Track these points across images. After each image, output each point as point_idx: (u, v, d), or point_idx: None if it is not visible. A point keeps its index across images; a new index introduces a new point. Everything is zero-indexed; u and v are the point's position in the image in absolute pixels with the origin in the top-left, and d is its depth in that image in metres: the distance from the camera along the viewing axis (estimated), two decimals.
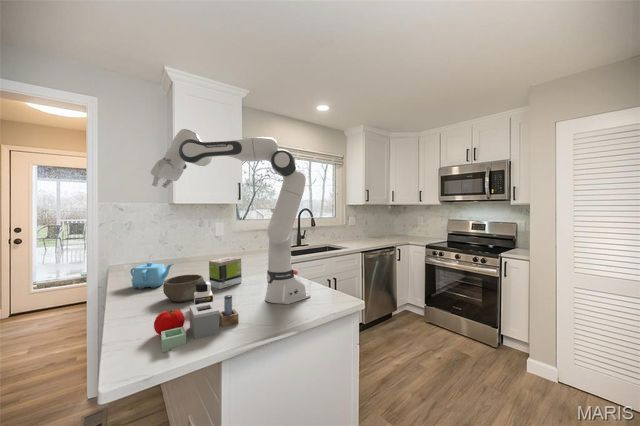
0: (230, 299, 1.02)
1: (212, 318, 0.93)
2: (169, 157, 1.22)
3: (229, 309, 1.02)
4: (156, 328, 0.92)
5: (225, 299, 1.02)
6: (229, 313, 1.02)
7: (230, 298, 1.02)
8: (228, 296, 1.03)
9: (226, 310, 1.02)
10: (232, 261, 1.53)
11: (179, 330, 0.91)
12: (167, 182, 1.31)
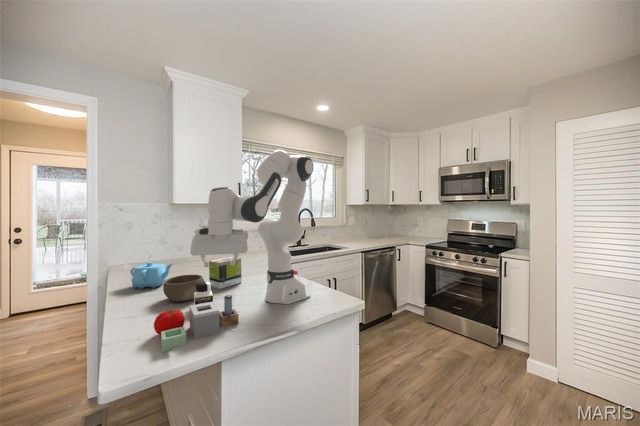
0: (230, 299, 1.02)
1: (212, 318, 0.93)
2: (232, 227, 1.03)
3: (229, 309, 1.02)
4: (156, 328, 0.92)
5: (225, 299, 1.02)
6: (229, 313, 1.02)
7: (230, 298, 1.02)
8: (228, 296, 1.03)
9: (226, 310, 1.02)
10: None
11: (179, 330, 0.91)
12: (204, 259, 1.00)
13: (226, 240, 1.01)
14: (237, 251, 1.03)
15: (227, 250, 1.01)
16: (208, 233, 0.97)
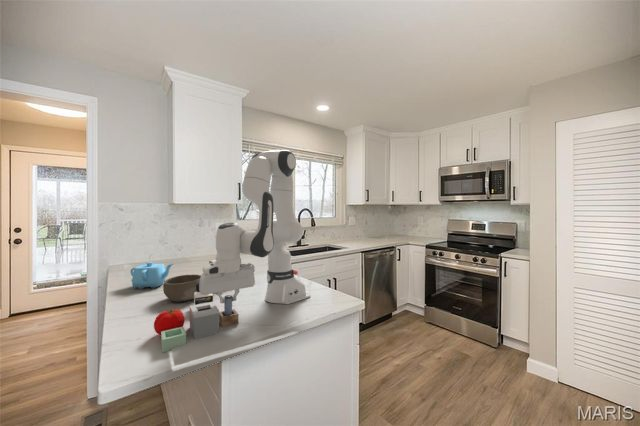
0: (230, 299, 1.02)
1: (212, 318, 0.93)
2: None
3: (229, 309, 1.02)
4: (156, 328, 0.92)
5: (225, 299, 1.02)
6: (229, 313, 1.02)
7: (230, 298, 1.02)
8: (228, 296, 1.03)
9: (226, 310, 1.02)
10: None
11: (179, 330, 0.91)
12: None
13: (234, 276, 1.02)
14: (245, 286, 1.05)
15: (236, 285, 1.03)
16: (218, 272, 0.97)
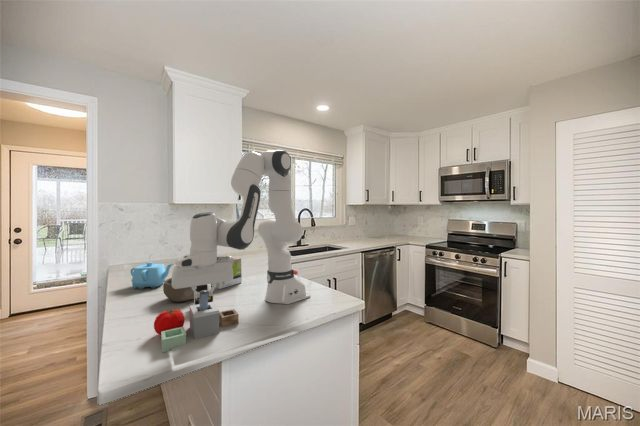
0: (206, 294, 0.95)
1: (212, 318, 0.93)
2: None
3: (204, 304, 0.95)
4: (156, 328, 0.92)
5: (200, 294, 0.95)
6: (204, 309, 0.95)
7: (206, 293, 0.95)
8: (204, 291, 0.96)
9: (201, 306, 0.95)
10: None
11: (179, 330, 0.91)
12: (195, 290, 0.94)
13: (210, 269, 0.95)
14: (222, 280, 0.98)
15: (212, 279, 0.96)
16: (191, 264, 0.90)
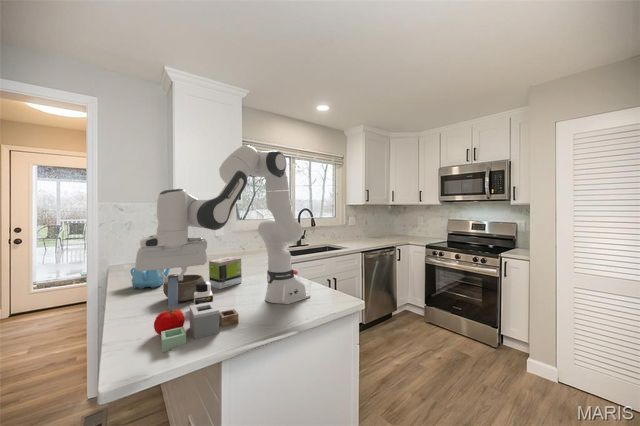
0: (175, 278, 0.86)
1: (212, 318, 0.93)
2: (187, 236, 0.89)
3: (173, 290, 0.86)
4: (156, 328, 0.92)
5: (169, 278, 0.86)
6: (173, 295, 0.86)
7: (175, 277, 0.86)
8: (173, 275, 0.87)
9: (169, 291, 0.86)
10: (232, 261, 1.53)
11: (179, 330, 0.91)
12: (163, 274, 0.86)
13: (180, 251, 0.87)
14: (194, 263, 0.89)
15: (182, 262, 0.87)
16: (157, 244, 0.82)
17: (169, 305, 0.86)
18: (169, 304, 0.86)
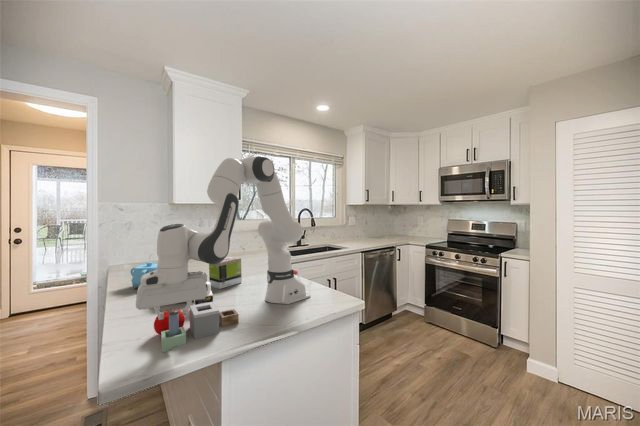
0: (175, 315, 0.87)
1: (212, 318, 0.93)
2: None
3: (174, 326, 0.87)
4: (156, 328, 0.92)
5: (169, 315, 0.86)
6: (174, 332, 0.87)
7: (175, 314, 0.87)
8: (173, 311, 0.87)
9: (170, 328, 0.86)
10: (232, 261, 1.53)
11: (179, 330, 0.91)
12: (159, 311, 0.85)
13: (180, 286, 0.87)
14: (194, 298, 0.89)
15: (182, 298, 0.87)
16: (158, 282, 0.82)
17: None
18: None
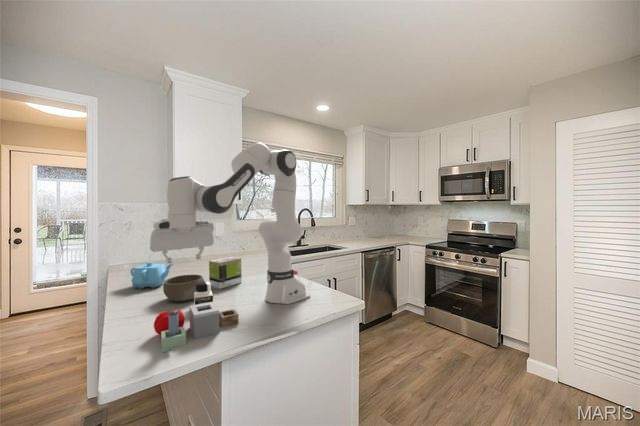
0: (175, 315, 0.87)
1: (212, 318, 0.93)
2: None
3: (174, 326, 0.87)
4: (156, 328, 0.92)
5: (169, 315, 0.86)
6: (174, 332, 0.87)
7: (175, 314, 0.87)
8: (173, 312, 0.87)
9: (170, 328, 0.86)
10: (232, 261, 1.53)
11: (179, 330, 0.91)
12: (166, 255, 0.93)
13: (190, 233, 0.95)
14: (203, 244, 0.98)
15: (192, 243, 0.95)
16: (169, 227, 0.90)
17: None
18: None
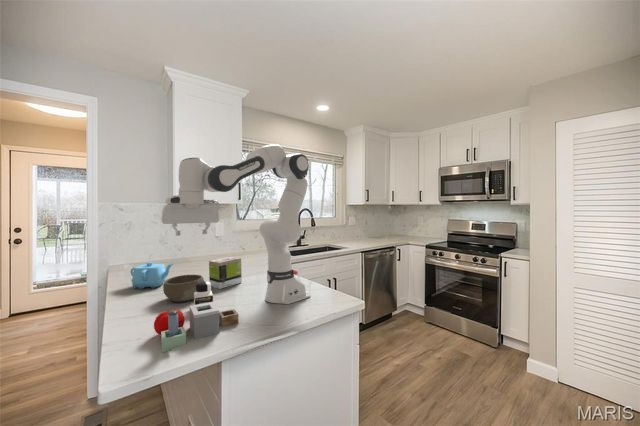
0: (175, 315, 0.87)
1: (212, 318, 0.93)
2: (203, 197, 1.07)
3: (174, 326, 0.86)
4: (156, 328, 0.92)
5: (169, 315, 0.86)
6: (174, 332, 0.87)
7: (175, 314, 0.87)
8: (173, 312, 0.87)
9: (170, 328, 0.86)
10: (232, 261, 1.53)
11: (179, 330, 0.91)
12: None
13: (198, 209, 1.05)
14: (209, 220, 1.07)
15: (199, 219, 1.05)
16: (179, 202, 0.99)
17: None
18: None
